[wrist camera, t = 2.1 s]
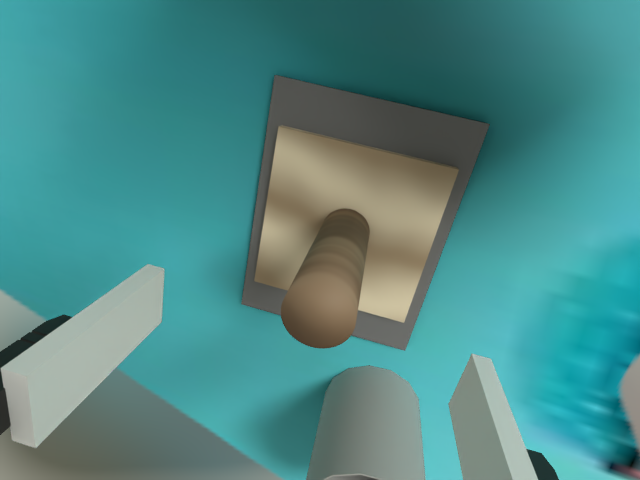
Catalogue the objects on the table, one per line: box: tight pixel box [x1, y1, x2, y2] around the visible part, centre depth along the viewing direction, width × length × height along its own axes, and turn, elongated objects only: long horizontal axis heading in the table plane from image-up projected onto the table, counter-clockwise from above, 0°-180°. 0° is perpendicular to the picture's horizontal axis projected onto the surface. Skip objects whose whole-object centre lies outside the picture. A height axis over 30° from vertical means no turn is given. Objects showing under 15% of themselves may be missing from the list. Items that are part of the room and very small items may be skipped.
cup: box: [306, 365, 425, 480], centre depth 29 cm, size 8×8×10 cm
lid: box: [254, 125, 459, 348], centre depth 22 cm, size 12×12×12 cm
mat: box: [241, 75, 490, 350], centre depth 28 cm, size 18×14×1 cm
